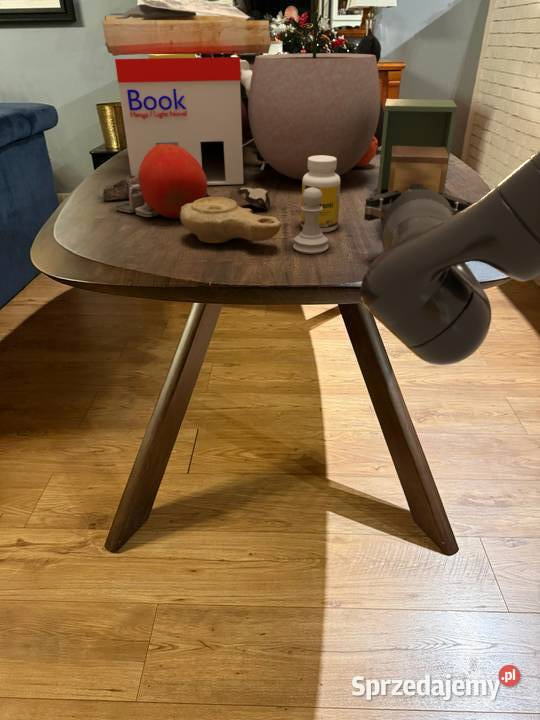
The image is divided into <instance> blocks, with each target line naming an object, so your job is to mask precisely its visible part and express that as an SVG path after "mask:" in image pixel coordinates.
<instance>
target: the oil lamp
mask: <svg viewBox="0 0 540 720" xmlns="http://www.w3.org/2000/svg"><path fill="white" fill-rule="evenodd" d="M179 219H180V222H181V224H182V225H183V226H184V228H185V229H186V230H188V231H189V232H190V233H192V234H194V235H196V238H197V240H199V241H200V242H203V243H206V244H222V243H226V242H229V241H230V240H233V239H244V240H248V241H250V242H257V241H258V242H259V241H260V242H261V241H262V242H263V241H268V240H271V239H272V238H274V237H275V236H276V235H278V233H279V232H280V230H281V229H282V222H281V221H279V219H278V217H275V216H270V215H269V216H267V215H260V214H254V213H253V210H252V209H251V208H246V207H241V206H240V205H238V203H237V202H236V200H234V199H231V198H228V197H221V196H210V197H206V198H201V199H198V200H196V201H194V202H193V203H190V204H186V205H184V206H182V208H181V212H180V218H179Z"/></svg>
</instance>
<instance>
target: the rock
mask: <svg viewBox="0 0 540 720" xmlns="http://www.w3.org/2000/svg"><path fill="white" fill-rule="evenodd" d="M136 184H139V178H138V175H136V176H133V175H131V174H128V175H127V176H125V177H123V178H122V179H120V180H118V181H117V182H115V183H113V184H110V185H108V186H107V185H106V187H104V188H103V191H102V192H103V193H102V195H103V199H104V201H105V202H110V201H121V200H129V188H130V187H131V186H132V185H136ZM138 192H141V189H140V187H139V188H135V189H133V190H132V194H134V193H138Z"/></svg>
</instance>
